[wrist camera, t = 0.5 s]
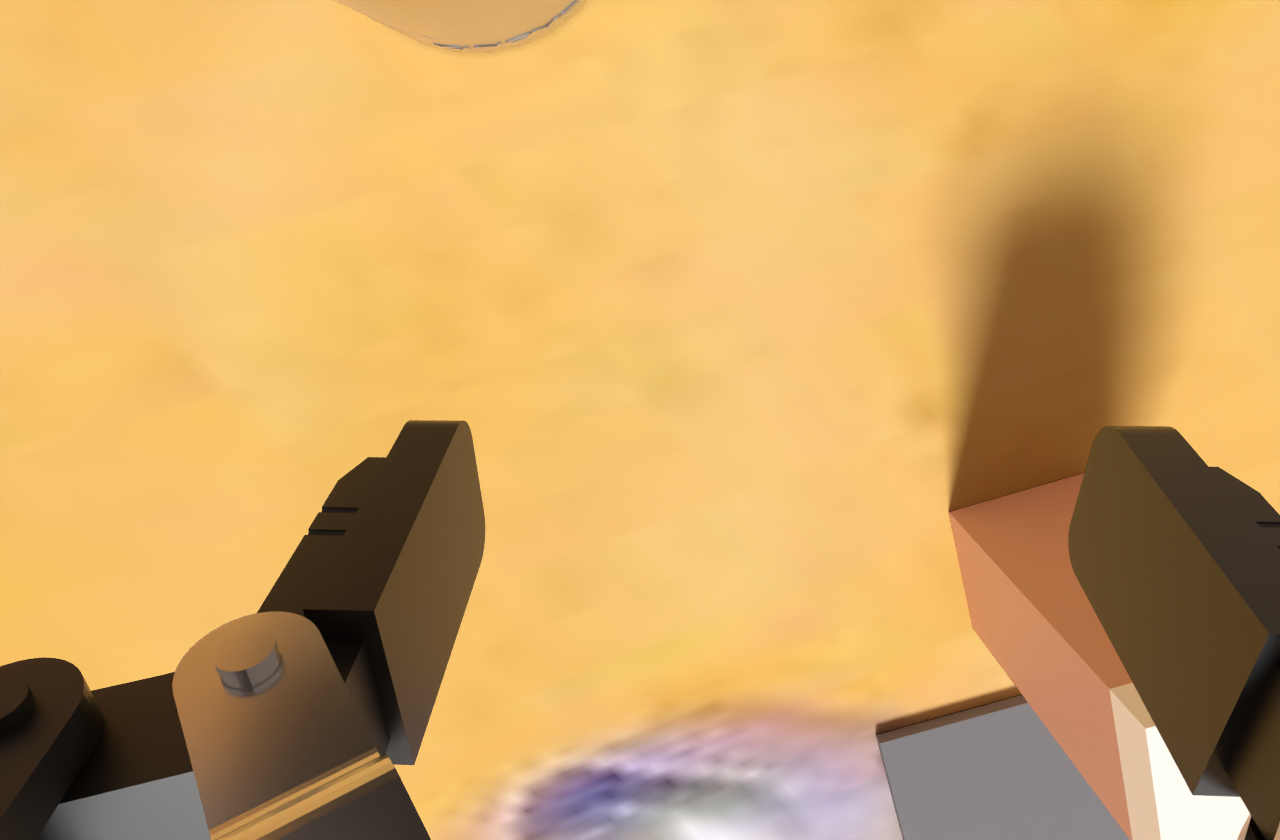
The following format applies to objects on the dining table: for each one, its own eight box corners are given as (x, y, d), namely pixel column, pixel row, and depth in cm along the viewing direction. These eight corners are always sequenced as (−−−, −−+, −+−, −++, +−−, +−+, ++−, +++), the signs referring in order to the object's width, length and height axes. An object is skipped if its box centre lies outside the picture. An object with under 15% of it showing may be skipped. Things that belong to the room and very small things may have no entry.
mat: (875, 735, 34) (879, 743, 34) (1337, 608, 33) (1347, 615, 33) (941, 988, 38) (945, 998, 38) (1351, 882, 37) (1361, 892, 37)
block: (948, 512, 31) (1145, 729, 20) (1086, 472, 31) (1365, 669, 20) (972, 628, 33) (1168, 891, 21) (1103, 591, 33) (1373, 838, 21)
